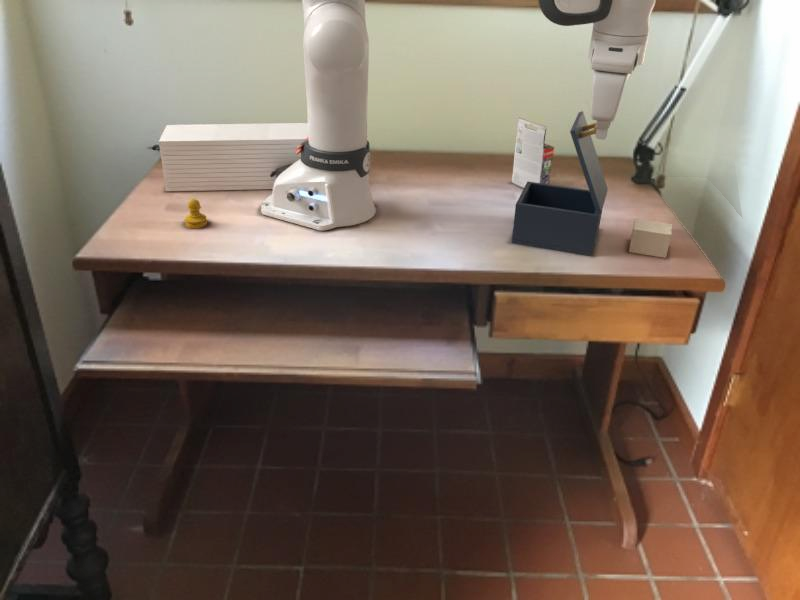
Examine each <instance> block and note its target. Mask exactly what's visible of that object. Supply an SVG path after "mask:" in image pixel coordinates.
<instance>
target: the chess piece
mask: <svg viewBox="0 0 800 600" xmlns="http://www.w3.org/2000/svg"><path fill="white" fill-rule="evenodd" d="M201 208H202V206H201V203H200V201H199V200H198V199H197V198H192V199H190V200H189V201H188V203H187V210H189V213H188V215H186V216H185V217H184V222H185V226H186V228H189V229H201V228H204V227H205V226H207V224H208V220H207V215H206V214H204V213H201V212H200V209H201Z"/></svg>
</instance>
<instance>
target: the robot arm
mask: <svg viewBox="0 0 800 600" xmlns="http://www.w3.org/2000/svg"><path fill="white" fill-rule="evenodd" d="M537 1H538V5H539V8H540V11H541V13H542V14H543V16H544V17H545V18H546V19H547V20H548V21H550V22H551V23H553V24H554V25H558V26H561V27H573V26H580V25H581V26H582V25H590V24H593V25H592V31H591V37H590V42H589V43H590V44H589V48H588V49H589V50H588V59H589V60H590V69H591V70H593V74H592V85H591V86H592V87H591V100H590V117H591V119H592V120H593V121H596V122H597V129H596V135H595V136H594V137H595V138H596V139H597V140H603V141H604V140H606V139H607V136H608V132H609V129H610V127H611V123H612V122H614V121H615V118H616V115H617V112H618V111H619V107H620V103H621V101H622V98H623V97H622V96H623V94H624V90H625V88H626V84H627V81H628V80H629V78H630V76H631V75H632V74H633V73H634V72H635V69H637V68H638V66H641V65H644V63H645V57H646V56H645V55H646V50H647V46H648V41H649V38H650V37H649V36H650V30H651V29H650V17H651V13H652V12H653V10H654V8H655V5H656V1H657V0H537ZM301 2H302V12H303V37H302V38H303V39H302V45H303V47H302V48H303V49H302V50H303V66H304V80H305V81H304V82H305V95H306V112H307V113H306V116H307V123H308V137H307V138H306V141H304V142H303V143H301V144H300V146H299V147H298V148H297V149H296V150H298V149H299V150H298V151H297V153H296V154H299V153H300V152H301V159H299V160H298V161H297V162H295V163H294V164H293V163H292V164H289V165H286V166H283V167H280V168H277V169H276V171H274V172H272V173H271V175H270V176H271V177H273V176H274V175H276V180H275V182H274V186H273V189H272V193H271V194H269V195H268V196H267V197H266V198H265V199H264V200H263V202H262V203H261V206H260V212H261V215H263V216H266V217H270V218H274V219H277V220H281V221H284V222H288V223H292V224H296V225H299V226H301V227H302V226H303V227H306V228H310V229H313V230H317V231H322V232H323V231H328V230H332V229H335V228H341V227H349V226H350V227H351V226H355V225H360V224H363V223H365V222H367V221H370V220H371V219H373V217H374V216H375V215H376V212H377V209H376V206H375V203H374V199H373V195H372V191H371V183H370V176H369V175H370V174H369V173H370V168H371V151H370V150H371V148H370V147H371V146H370V141H369V140H368V93H369V60H370V58H369V57H370V55H369V54H370V41H369V34H368V30H367V29H368V28H367V22H366V0H301ZM156 149H158V150H160V145H159V144H154V145H153V146H152V147H151V150H153V151H154V150H156Z"/></svg>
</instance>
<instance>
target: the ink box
mask: <svg viewBox="0 0 800 600" xmlns="http://www.w3.org/2000/svg"><path fill="white" fill-rule="evenodd" d="M527 126H532V127H533V128H536V129H537V130H536V129H532V128H530V127H527ZM546 133H547V126H546V125H543V124H539V123H536V122H533V121H531V120H527V119H524V118H521V117H519V118H518V122H517V129H516V138H515V139H516V140H515V144H514V145H515V146H514V153H513V154H514V155H513V164H512V166H513V167H512V175H511V176H512V177H511V183H512V184H513V185H516V186H517V187H519V188H521V189H524V187H525V185H526V184H527V182H536V183H543V184H550V185H551V175H552V167H553V159H554V151H555V146H553V145H550V144H548V143H545V141H546V135H547V134H546Z"/></svg>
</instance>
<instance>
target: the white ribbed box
mask: <svg viewBox="0 0 800 600" xmlns="http://www.w3.org/2000/svg"><path fill="white" fill-rule="evenodd" d="M307 137H308V122H286V123H285V122H284V123H282V122H281V123H280V122H278V123H277V122H276V123H208V124H207V123H205V124H200V123H198V124H195V123H194V124H166V125H165V128H164V129H163V132H162V134H161V136H160V138H159V140H158V145H159V146H160V149H159V154H160V159H161V164H162V165H161V166H162V167H161V168H162V173H163V180H164V186H165V192H200V191H205V192H206V191H244V190H246V191H247V190H249V191H251V190H273V186H274V182H275V180H276V175H274V176H273V177H271V176H270V175H271V173H272V172H274V171H276V169H277V168H280V167H283V166H286V165H289V164H292V163H293V164H294V163H295V162H297V161H298V160H299V159H301V152H300V153H299V154H296V153H297V151H298V150H299V149H298V150H296V149H297V148H298V147H299V146H300V144H301V143H303V142H304V141H306V138H307Z"/></svg>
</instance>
